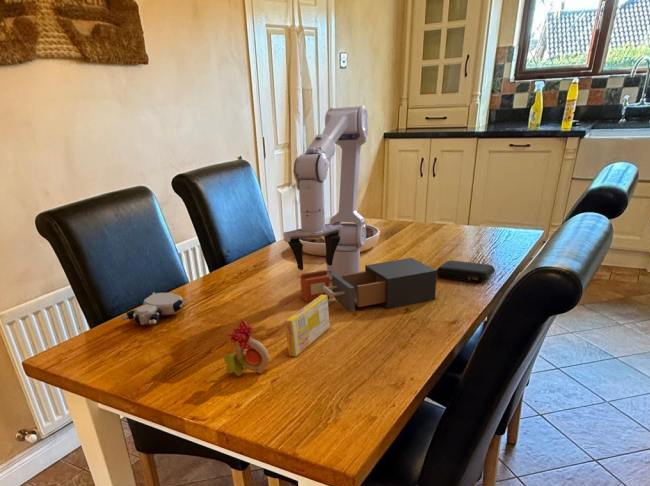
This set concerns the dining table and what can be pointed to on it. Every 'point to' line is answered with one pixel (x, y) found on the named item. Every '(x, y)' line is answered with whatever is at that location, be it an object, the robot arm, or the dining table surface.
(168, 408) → the dining table surface
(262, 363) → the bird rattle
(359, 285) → the drawer
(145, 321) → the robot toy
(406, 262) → the cabinet
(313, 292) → the ridged terracotta block
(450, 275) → the carrying case
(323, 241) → the bowl
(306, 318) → the candy box
